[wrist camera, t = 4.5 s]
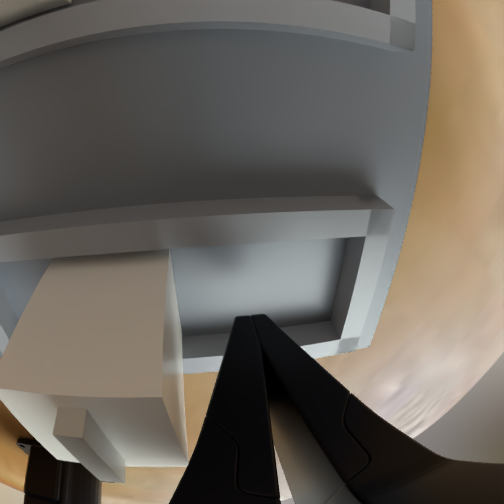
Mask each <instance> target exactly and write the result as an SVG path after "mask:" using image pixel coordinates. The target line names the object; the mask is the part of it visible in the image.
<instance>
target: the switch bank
mask: <svg viewBox="0 0 504 504" xmlns="http://www.w3.org/2000/svg"><path fill="white" fill-rule="evenodd" d="M431 59H432V0H72V2H71V4H67V5H63V6H60V7H56V8H53V9H50V10H47V11H44V12H41V13H38V14H35V15H32V16H29V17H26V18H24V19H21V20H18V21H16V22H13V23H11V24H8V25H6V26H3V27H1V28H0V358H2V356H3V353H4V351H5V349H6V347H7V344H8V342H9V340H10V338H11V336H12V334H13V331H14V329H15V327H16V325H17V323H18V321H19V319H20V317H21V315H22V313H23V311H24V309H25V307H26V305H27V304H28V302H29V300H30V298H31V296H32V294H33V292H34V291H35V289H36V287H37V285H38V283H39V282H40V280H41V278H42V276H43V275H44V273H45V271H46V270H47V268H48V266H49V264H50V263H51V261H52V260H53V258H58V257H71V256H84V255H97V254H110V253H123V252H136V251H150V250H164V249H170V252H171V261H172V268H173V276H174V283H175V290H176V297H177V304H178V310H179V316H180V323H181V329H182V359H183V374H191V373H204V372H216V371H219V369H220V366H221V362H222V359H223V355H224V352H225V349H226V345H227V342H228V338H229V335H230V332H231V328H232V325H233V321H234V318H235V317H236V316H243V315H253V314H266V315H267V316H268V317H269V318H270V319H271V320H272V321H273V322H274V323H275V324H277V325H278V326H279V327H280V328H281V329H282V330H283V331H284V332H285V333H286V334H287V335H288V336H289V337H290V338H292V339H293V340H294V341H295V342H296V343H297V344H298V345H299V346H300V347H301V348H302V349H303V350H304V351H306V352H307V353H308V354H309V355H310V356H311V357H312V358H313V359H315V358H320V357H326V356H331V355H337V354H342V353H347V352H352V351H355V350H356V349H361V348H366V347H369V346H370V343H371V340H372V338H373V335H374V332H375V329H376V327H377V324H378V321H379V318H380V315H381V312H382V309H383V306H384V303H385V300H386V297H387V294H388V291H389V288H390V285H391V282H392V278H393V275H394V272H395V268H396V265H397V261H398V258H399V254H400V250H401V247H402V243H403V239H404V235H405V231H406V227H407V223H408V219H409V215H410V210H411V206H412V201H413V196H414V192H415V187H416V182H417V176H418V171H419V165H420V160H421V154H422V147H423V141H424V134H425V126H426V118H427V110H428V100H429V89H430V76H431Z"/></svg>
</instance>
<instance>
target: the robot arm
mask: <svg viewBox="0 0 504 504" xmlns="http://www.w3.org/2000/svg"><path fill="white" fill-rule="evenodd" d="M349 394H350V391H349V390H348V389H346V388H345V387H344V386H343V385H342V384H341V383H340V382H339V381H338V380H336V379H335V378H334V377H333V376H332V375H331V374H330V373H329V372H328V371H326V370H325V369H324V368H323V367H322V366H321V365H320V364H319V363H318V362H317V361H315V360H314V359H313V358H312V357H311V356H310V355H309V354H308V353H307V352H306V351H304V350H303V349H302V348H301V347H300V346H299V345H298V344H297V343H296V342H295V341H294V340H293V339H292V338H290V337H289V336H288V335H287V334H286V333H285V332H284V331H283V330H282V329H281V328H280V327H279V326H278V325H277V324H275V323H274V322H273V321H272V320H271V319H270V318H269V317H268V316H267V315H266V314H253V315H243V316H236V317H235V318H234V321H233V325H232V328H231V332H230V335H229V338H228V342H227V345H226V349H225V352H224V355H223V359H222V362H221V366H220V369H219V372H218V376H217V379H216V383H215V386H214V389H213V393H212V396H211V400H210V403H209V407H208V410H207V413H206V417H205V419H204V423H203V426H202V429H201V432H200V435H199V438H198V441H197V444H196V447H195V450H194V452H193V454H192V457H191V459H190V461H189V464H188V466H187V468H186V470H185V472H184V474H183V476H182V478H181V480H180V482H179V484H178V486H177V488H176V490H175V492H174V494H173V496H172V498H171V500H170V502H169V504H281V501H280V492H279V484H278V476H277V468H276V459H275V451H274V445H275V448H276V451H277V454H278V457H279V460H280V463H281V466H282V469H283V471H284V474H285V477H286V480H287V483H288V486H289V488H290V491H291V494H292V497H293V499H294V502H295V504H504V464H503V463H484V462H472V461H461V460H454V459H450V458H446V457H443V456H441V455H439V454H436V453H434V452H432V451H431V450H429V449H428V448H426V447H424V446H423V445H421V444H420V443H418V442H417V441H415V440H414V439H412V438H411V437H409V436H407V435H406V434H404V433H403V432H401V431H400V430H398V429H397V428H395V427H394V426H392V425H391V424H390V423H388V422H387V421H385V420H384V419H383V418H381V417H380V416H378V415H377V414H376V413H375V412H373V411H372V410H371V409H370V408H369V407H367V406H366V405H365V404H364V403H362V402H361V401H360V400H359V399H358V398H357V397H356V396H355V395H353V394H352V393H351V394H350V395H349ZM273 442H274V443H273ZM16 444H17V445H18V446H19V447H20V448H21V449H22V450H23V451H24V452H26V453H27V454H28V455H29V457H28V463H27V470H26V476H25V483H24V493H25V495H24V504H101V487H102V482H105V481H100V480H99V479H98V478H97V477H95V476H94V475H93V474H92V473H91V472H90V471H89V470H88V469H86V468H85V467H84V466H83V465H82V464H81V463H78V462H70V461H63V460H57V459H56V458H55V457H54V456H53V455H52V454H51V453H50V452H49V451H48V450H47V449H46V448H44V447H43V446H42V445H41V444H40V443H39V442H35V441H30V440H24V439H19V438H18V439H17V442H16ZM111 483H115V482H111Z"/></svg>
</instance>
